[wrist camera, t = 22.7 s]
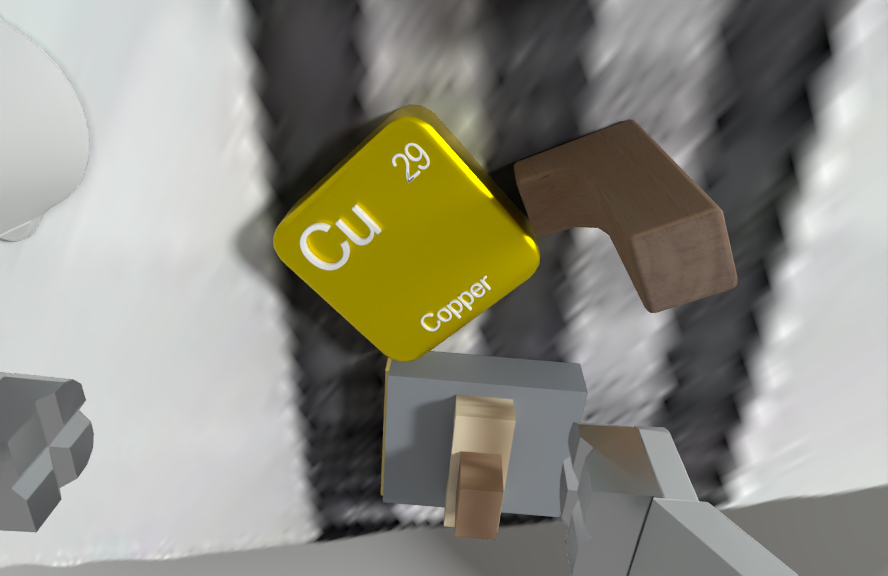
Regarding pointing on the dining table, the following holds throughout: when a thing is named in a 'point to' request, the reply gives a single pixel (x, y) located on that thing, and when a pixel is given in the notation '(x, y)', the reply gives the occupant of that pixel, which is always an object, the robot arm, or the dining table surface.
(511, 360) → the dock
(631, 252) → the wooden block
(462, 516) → the brown box
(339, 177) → the element tile
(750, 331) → the dining table surface
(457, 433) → the tan stepped block
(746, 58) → the dining table surface
